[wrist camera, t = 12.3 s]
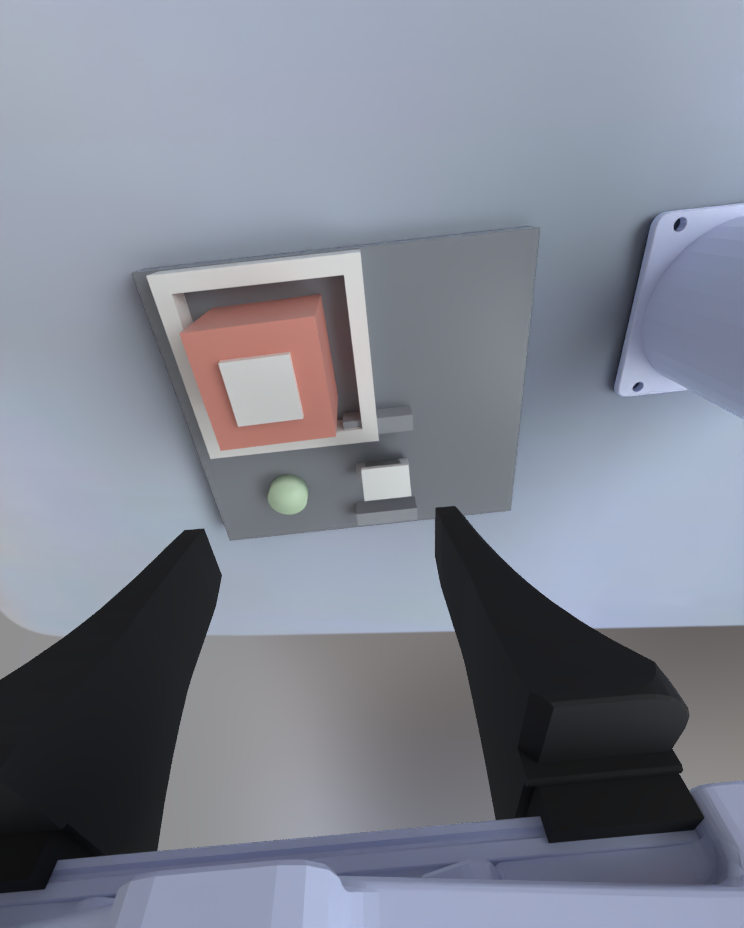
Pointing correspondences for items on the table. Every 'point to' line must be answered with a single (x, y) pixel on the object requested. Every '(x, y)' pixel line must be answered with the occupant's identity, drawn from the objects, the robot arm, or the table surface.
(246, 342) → the pink cube
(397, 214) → the table surface
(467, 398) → the panel
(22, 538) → the table surface
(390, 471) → the lever
